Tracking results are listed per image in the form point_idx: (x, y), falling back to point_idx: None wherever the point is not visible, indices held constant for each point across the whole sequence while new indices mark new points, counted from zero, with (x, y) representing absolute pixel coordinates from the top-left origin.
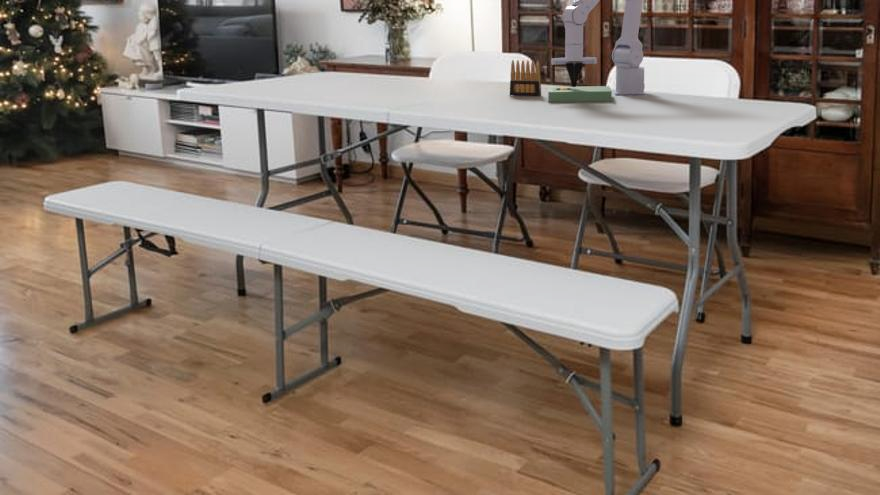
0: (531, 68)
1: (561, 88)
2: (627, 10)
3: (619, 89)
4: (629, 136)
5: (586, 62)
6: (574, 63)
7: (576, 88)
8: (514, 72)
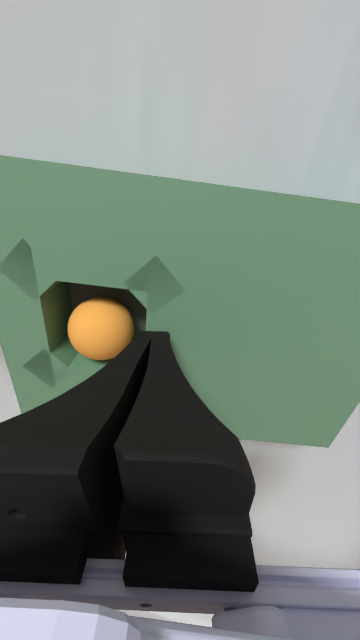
0: None
1: (76, 340)
2: None
3: None
4: (196, 623)
5: (322, 610)
6: (117, 584)
7: (179, 311)
8: None
